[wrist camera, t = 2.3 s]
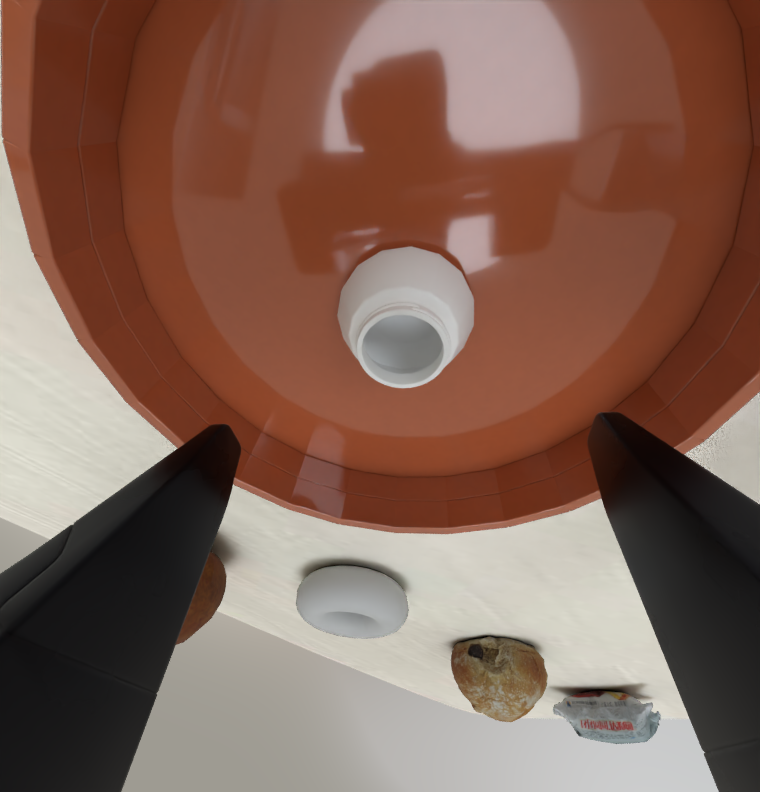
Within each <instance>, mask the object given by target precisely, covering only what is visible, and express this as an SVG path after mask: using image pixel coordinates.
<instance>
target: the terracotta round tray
mask: <svg viewBox="0 0 760 792" xmlns="http://www.w3.org/2000/svg"><path fill="white" fill-rule="evenodd" d="M1 100H2V137H3V138H4V139H3V145H4V148H5V152H6V156H7V160H8V164H9V167H10V171H11V175H12V179H13V182H14V186H15V190H16V194H17V198H18V201H19V205H20V209H21V213H22V216H23V220H24V224H25V228H26V231H27V235H28V239H29V243H30V247H31V250H32V252H33V253H34V258H35V260H36V262H37V263H38V265H39V267H40V269H41V271H42V273H43V275H44V277H45V279H46V281H47V283H48V285H49V287H50V289H51V291H52V292H53V294H54V296H55V298H56V300H57V302H58V304H59V306H60V308H61V310H62V312H63V314H64V316H65V318H66V319H67V321H68V323H69V325H70V327H71V329H72V331H73V333H74V335H75V337H76V338H77V339H78V340H77V341H78V342H79V343H80V345H81V346H82V347H83V349H84V350H85V351H86V352H87V354H88V355H89V356H90V357H91V359H92V360H93V361H94V362H95V364H96V365H97V366H98V367H99V369H100V370H101V371H102V372H103V374H104V375H105V376H106V378H107V379H108V380H109V381H110V383H111V384H112V385H113V386H114V388H115V389H116V390H117V391H118V393H119V394H120V395H121V396H122V398H123V399H124V400H125V402H126V403H128V404H129V405H130V406H131V407H132V408H133V409H134V410H135V411H136V412H138V413H139V414H140V415H141V416H142V417H143V418H144V419H145V420H147V421H148V422H149V423H150V424H151V425H152V426H153V427H154V428H155V429H157V430H158V431H159V432H160V433H161V434H162V435H163V436H164V437H166V438H167V439H168V440H169V441H170V442H171V443H172V444H173V445H174V446H176V447H177V448H179V447H181V446H182V445H183V444H185V443H186V442H188V441H189V440H190V439H192V438H193V437H195V436H196V435H197V434H199V433H200V432H201V431H203V430H204V429H206V428H207V427H208V426H210V425H212V424H228V425H229V426H230V427H231V429H232V430H233V432H234V434H235V436H236V437H237V439H238V441H239V443H240V445H241V455H240V459H239V463H238V466H237V470H236V474H235V478H234V482H233V484H234V485H235V486H238V487H240V488H242V489H244V490H246V491H249V492H251V493H253V494H255V495H257V496H260V497H262V498H264V499H266V500H268V501H271V502H273V503H275V504H277V505H279V506H282V507H284V508H286V509H289V510H292V511H296V512H299V513H302V514H306V515H309V516H313V517H316V518H319V519H323V520H326V521H329V522H333V523H336V524H339V523H340V524H341V525H347V526H354V527H360V528H367V529H373V530H380V531H386V532H394V533H423V534H453V533H462V532H471V531H480V530H489V529H497V528H506V527H511V526H515V525H519V524H523V523H527V522H531V521H535V520H539V519H542V518H546V517H550V516H554V515H558V514H562V513H566V512H569V510H570V511H572V510H575V509H577V508H579V507H582V506H584V505H586V504H589V503H591V502H594V501H596V500H598V499H601V494H600V490H599V487H598V483H597V479H596V475H595V472H594V468H593V464H592V461H591V457H590V453H589V450H588V444H587V439H588V435H589V432H590V429H591V427H592V424H593V421H594V418H595V416H596V415H597V414H598V413H600V412H620V413H622V414H623V415H625V416H626V417H628V418H629V419H631V420H632V421H634V422H635V423H637V424H638V425H640V426H641V427H643V428H644V429H646V430H647V431H649V432H650V433H652V434H654V435H655V436H657V437H658V438H660V439H661V440H663V441H664V442H666V443H667V444H669V445H670V446H672V447H673V448H675V449H676V450H678V451H679V452H681V453H682V454H685V453H686V452H688V451H690V450H691V449H693V448H695V447H696V446H698V445H699V444H701V443H703V442H704V441H705V440H706V439H708V438H709V437H710V436H711V435H712V434H713V433H714V432H715V431H716V430H718V429H719V428H720V427H721V426H722V425H723V424H724V423H725V422H727V421H728V420H729V419H730V418H731V417H732V416H733V415H734V414H735V413H737V412H738V411H739V410H740V409H741V408H742V407H743V406H744V405H745V404H747V403H748V402H749V401H750V400H751V399H752V398H753V397H754V396H755V395H757V394H758V393H759V392H760V0H1ZM410 246H412V247H415V248H419V249H423V250H426V251H430V252H434V253H438V254H440V255H441V256H443V257H444V258H445V259H446V260H447V261H449V262H450V263H451V264H452V265H454V266H455V267H456V268H457V269H458V270H460V271H461V272H462V274H463V276H464V278H465V280H466V282H467V285H468V287H469V289H470V291H471V293H472V295H473V298H474V326H473V328H472V330H471V333H470V335H469V337H468V339H467V341H466V343H465V346H464V348H463V349H462V350H461V351H460V352H459V353H458V354H457V355H456V356H455V358H454V359H453V360H452V361H451V362H450V363H449V364H448V365H447V366H445V367H444V369H443V370H442V371H441V372H440V374H439V375H438V376H436V377H435V378H434V379H433V380H431V381H429V382H428V383H426V384H423V385H421V386H417V387H412V388H395V387H390V386H387V385H384V384H382V383H379V382H378V381H376V380H374V379H373V378H372V377H370V376H369V375H368V374H367V373H366V372H365V370H364V369H363V368H362V366H361V364H360V362H359V361H358V359H357V358H356V357H355V356H354V354H353V353H352V351H351V350H350V348H349V347H348V345H347V343H346V342H345V340H344V339H343V335H342V331H341V328H340V324H339V320H338V317H337V314H338V308H339V302H340V295H341V290H342V288H343V286H344V285H345V283H346V282H347V280H348V279H349V277H350V276H351V274H352V273H353V271H354V270H355V269H356V267H357V266H358V265H359V264H361V263H362V262H364V261H366V260H367V259H369V258H370V257H372V256H374V255H375V254H377V253H378V252H380V251H382V250H389V249H396V248H403V247H410Z"/></svg>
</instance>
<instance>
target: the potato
mask: <svg viewBox="0 0 760 792" xmlns="http://www.w3.org/2000/svg"><path fill="white" fill-rule="evenodd" d="M225 588H226V573H225V568H224V565H223V564H222V562H221V560H220V559H219V557H218V556H216V555H215V554H214V553H212V552H210V553H209V556H208V559H207V562H206V564H205V567H204V570H203V572H202V575H201V578H200V580H199V583H198V586H197V588H196V591H195V594H194V596H193V599H192V602H191V605H190V607H189V610H188V613H187V615H186V618H185V621H184V623H183V626H182V629H181V631H180V634H179V637H178V639H177V642H176V644H179V643H182V642H184V641H185V640H187V639H188V638H189V637H190V636H192V635H193V634H194V633H195V632H196V631H198V630H199V629H200V628H201V627H202V626H203V625H204V624H205V623H207V622H208V621H209V620H210V619H211V618H212V616H213V615H214V613H215V611H216V610H217V608H218V607H219V605H220V603H221V601H222V598H223V595H224V592H225Z"/></svg>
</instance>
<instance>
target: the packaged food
mask: <svg viewBox="0 0 760 792" xmlns="http://www.w3.org/2000/svg"><path fill="white" fill-rule="evenodd" d="M652 708H653V704H652V702H651V703H646V704H642V703H641V702H640V701H638V700H637V699H636V698H634V697H632V696H630V695H628V694H625V693H619V692H609V691H592V692H586V693H580V694H575V695H572V696H569V697H567V698H565V699H564V701H563V702H561V703H560V702H559V703H558V704H555V705H554V707H553V712H554V714H556V715H559V716H563V717H564V718H565V719H566V720H567V721H568V722H569V723H570V724H571V725H572V726H573V728H574V730H575V731H576V733H577V734H578V735H579V736H581V737H585V738H588V739H591V740H596V741H601V742H608V743H615V744H624V743H639V742H646V741H648V740H649V739H650V738H651V737H652V736H653V735H654V734H655V733H656V731H657V728H658V725H659V723H658V721H659V720H660V716H661V715H660V714H659V712H658V711H657V713H653V712H652V711H651V710H652ZM555 710H556V711H555Z"/></svg>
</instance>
